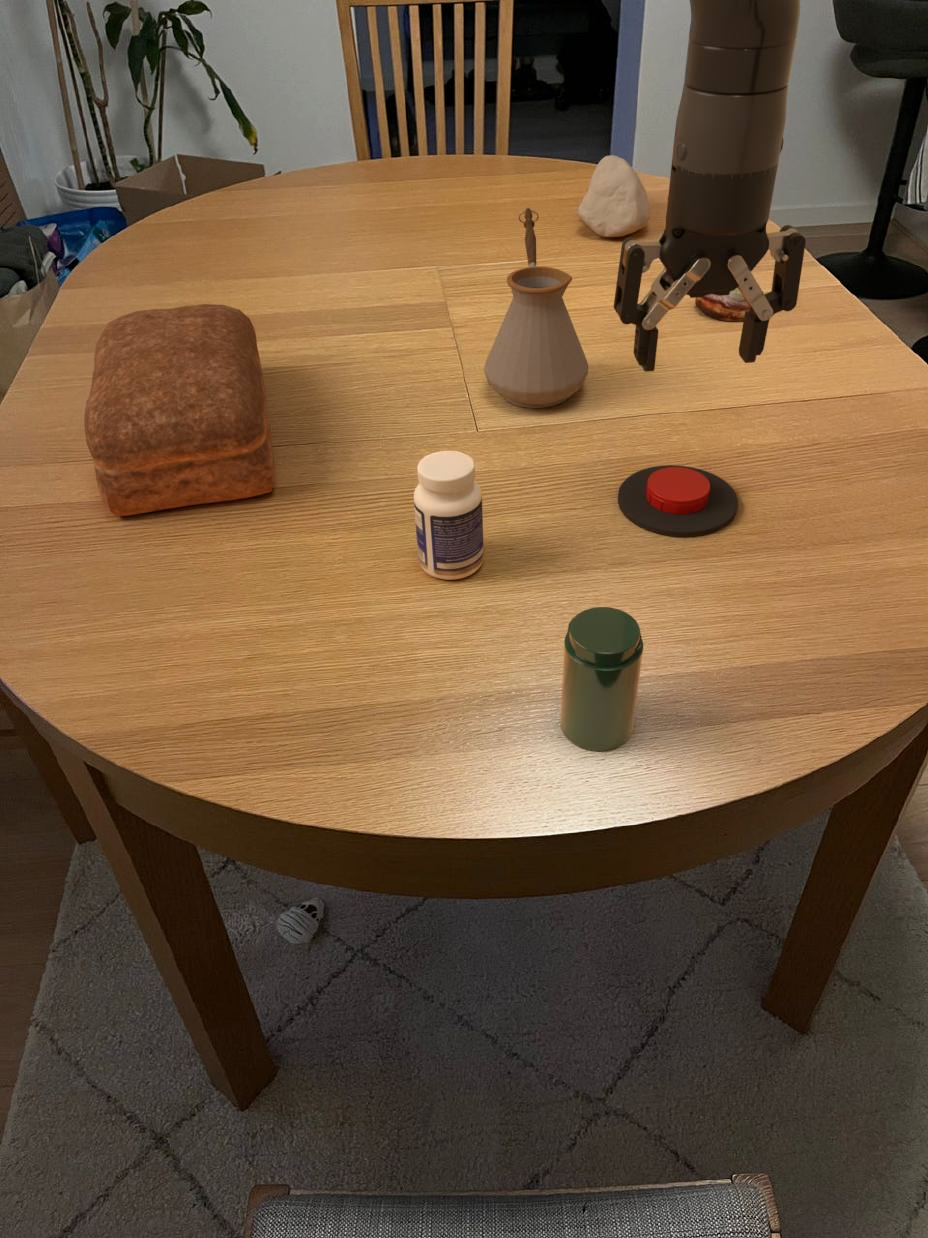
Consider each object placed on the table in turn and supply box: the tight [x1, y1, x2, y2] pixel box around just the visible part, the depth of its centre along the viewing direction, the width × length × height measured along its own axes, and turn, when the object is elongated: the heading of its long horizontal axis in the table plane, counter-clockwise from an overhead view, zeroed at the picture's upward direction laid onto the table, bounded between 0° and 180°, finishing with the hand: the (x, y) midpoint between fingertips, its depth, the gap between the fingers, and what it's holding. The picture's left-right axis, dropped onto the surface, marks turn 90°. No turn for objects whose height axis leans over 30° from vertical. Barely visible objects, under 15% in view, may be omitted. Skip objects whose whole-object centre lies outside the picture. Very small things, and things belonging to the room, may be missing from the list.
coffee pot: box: [483, 207, 590, 409], centre depth 103 cm, size 21×12×15 cm, turn 1°
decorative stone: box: [576, 154, 652, 238], centre depth 141 cm, size 17×10×10 cm
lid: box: [645, 467, 710, 515], centre depth 86 cm, size 6×6×2 cm
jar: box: [559, 606, 644, 752], centre depth 64 cm, size 5×5×9 cm
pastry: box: [694, 288, 750, 322], centre depth 117 cm, size 8×8×5 cm
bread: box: [83, 303, 275, 518], centre depth 95 cm, size 17×29×11 cm, turn 12°
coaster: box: [617, 464, 739, 538], centre depth 87 cm, size 11×11×1 cm
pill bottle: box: [413, 450, 485, 581], centre depth 78 cm, size 6×6×10 cm
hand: (696, 363), depth 78 cm, fingers open, 8 cm apart
